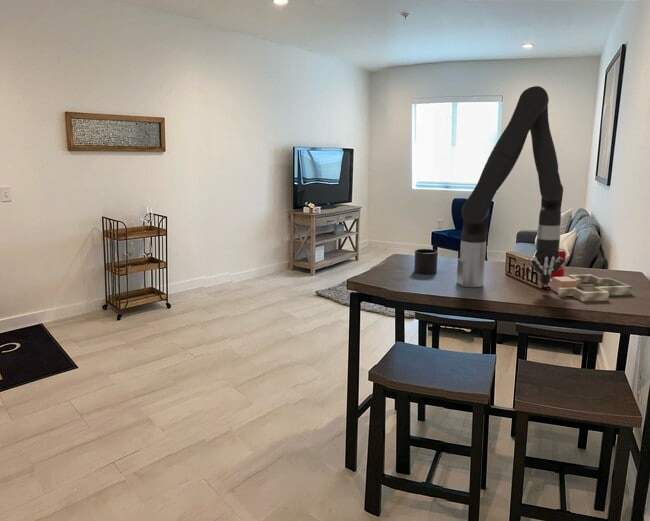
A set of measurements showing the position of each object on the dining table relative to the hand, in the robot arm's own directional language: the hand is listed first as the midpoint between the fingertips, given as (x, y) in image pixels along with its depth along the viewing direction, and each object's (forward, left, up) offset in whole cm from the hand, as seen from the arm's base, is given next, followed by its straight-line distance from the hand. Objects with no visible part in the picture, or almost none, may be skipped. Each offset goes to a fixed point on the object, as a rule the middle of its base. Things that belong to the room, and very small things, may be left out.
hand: (544, 284), depth 180 cm
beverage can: (+15, +18, -3) cm, 24 cm away
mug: (-33, +36, -3) cm, 49 cm away
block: (+8, 0, -3) cm, 8 cm away
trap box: (+16, 0, -3) cm, 16 cm away
